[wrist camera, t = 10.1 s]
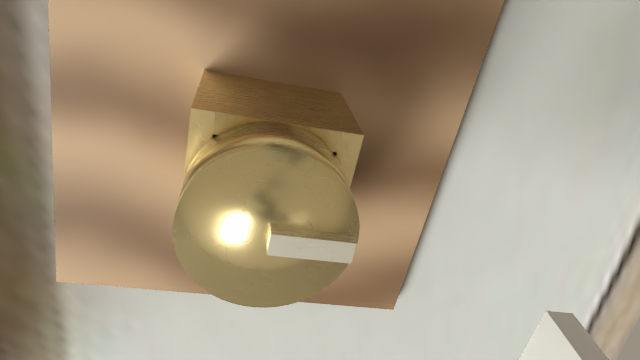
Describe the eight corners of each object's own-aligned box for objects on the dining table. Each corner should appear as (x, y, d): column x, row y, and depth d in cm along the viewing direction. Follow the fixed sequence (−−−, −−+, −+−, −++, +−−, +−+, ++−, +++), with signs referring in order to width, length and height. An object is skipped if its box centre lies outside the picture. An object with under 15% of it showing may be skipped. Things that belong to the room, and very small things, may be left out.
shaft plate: (54, -131, 17) (-13, -151, 13) (501, -22, 21) (566, -9, 17) (63, 269, 25) (23, 341, 21) (389, 297, 29) (413, 364, 24)
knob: (191, 193, 23) (163, 310, 16) (204, 69, 20) (178, 143, 13) (313, 208, 24) (339, 323, 17) (341, 92, 22) (384, 172, 14)
